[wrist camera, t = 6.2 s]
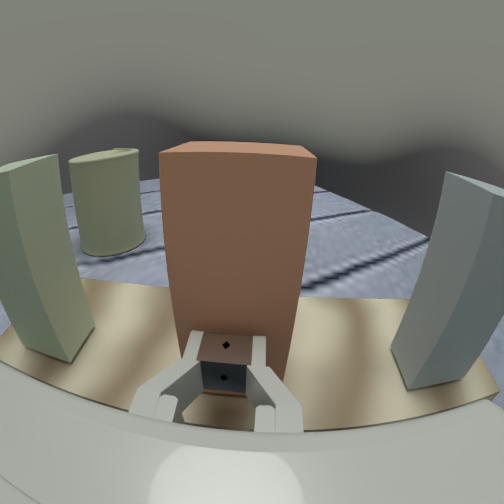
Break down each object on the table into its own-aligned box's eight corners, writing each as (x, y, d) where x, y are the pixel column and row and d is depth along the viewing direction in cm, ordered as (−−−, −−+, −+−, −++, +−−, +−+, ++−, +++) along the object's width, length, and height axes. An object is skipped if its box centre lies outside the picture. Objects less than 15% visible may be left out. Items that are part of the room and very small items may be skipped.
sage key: (22, 345, 14) (-34, 181, 9) (48, 313, 18) (9, 163, 12) (70, 362, 14) (8, 170, 8) (95, 324, 17) (57, 153, 12)
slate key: (407, 389, 13) (493, 193, 8) (390, 345, 17) (445, 171, 12) (463, 378, 13) (542, 211, 8) (442, 340, 17) (499, 187, 11)
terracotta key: (187, 389, 14) (159, 152, 8) (200, 340, 17) (190, 141, 12) (279, 397, 14) (317, 158, 8) (278, 346, 17) (301, 146, 12)
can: (159, 237, 35) (153, 145, 30) (100, 264, 28) (84, 158, 23) (122, 222, 40) (116, 145, 34) (71, 243, 33) (58, 157, 27)
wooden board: (-4, 366, 13) (-15, 348, 12) (61, 286, 24) (56, 270, 23) (489, 403, 12) (503, 387, 11) (435, 310, 23) (442, 295, 22)
